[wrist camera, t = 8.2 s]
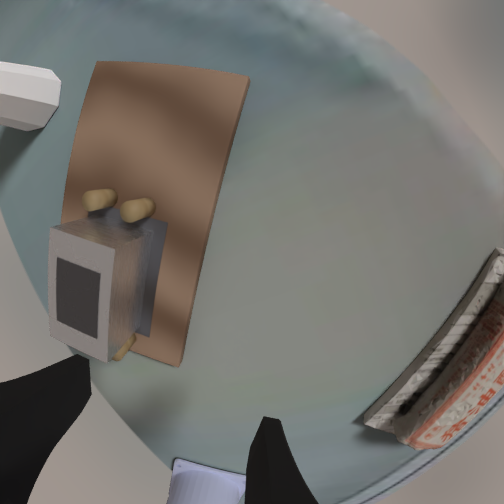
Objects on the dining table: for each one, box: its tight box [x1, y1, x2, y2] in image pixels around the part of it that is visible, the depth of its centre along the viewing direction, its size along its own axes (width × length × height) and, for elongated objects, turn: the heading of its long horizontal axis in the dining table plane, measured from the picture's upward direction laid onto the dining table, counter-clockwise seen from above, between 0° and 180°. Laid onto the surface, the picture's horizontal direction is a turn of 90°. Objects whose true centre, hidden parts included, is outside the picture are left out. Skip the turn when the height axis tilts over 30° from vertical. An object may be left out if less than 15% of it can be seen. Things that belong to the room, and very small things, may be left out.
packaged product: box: [364, 248, 504, 450], centre depth 18 cm, size 18×5×10 cm
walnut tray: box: [61, 61, 250, 367], centre depth 18 cm, size 20×11×4 cm, turn 165°
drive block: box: [48, 215, 154, 363], centre depth 17 cm, size 7×4×5 cm, turn 165°
